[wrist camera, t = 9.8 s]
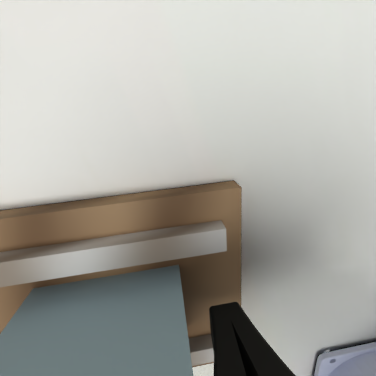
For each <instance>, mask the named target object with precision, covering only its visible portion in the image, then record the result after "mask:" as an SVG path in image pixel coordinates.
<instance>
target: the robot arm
mask: <svg viewBox="0 0 376 376" xmlns="http://www.w3.org/2000/svg"><path fill="white" fill-rule="evenodd" d="M209 315H210V330H211V338H212V344H213V351H214V376H295V375H294V374H293V372H292V371H291V370H290V369H289V368H288V367H287V366H286V364H285V363H284V362H283V361H282V360H281V359H280V357H279V356H278V355H277V354H276V353H275V352H274V350H273V349H272V348H271V347H270V345H269V344H268V343H267V342H266V340H265V339H264V338H263V337H262V335H261V334H260V333H259V332H258V330H257V329H256V328H255V326H254V325H253V324H252V322H251V321H250V319H249V318H248V317H247V315H246V314H245V312H244V311H243V309H242V308H241V306H240V305H239V303H238V302H231V303H226V304H220V305H215V306H211V307H210V308H209ZM314 376H376V342H372V343H368V344H363V345H358V346H354V347H349V348H344V349H340V350H335V351H331V352H326V353H322V354H320V355H319V356H318V359H317V363H316V368H315V373H314Z"/></svg>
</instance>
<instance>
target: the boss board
mask: <svg viewBox="0 0 376 376" xmlns="http://www.w3.org/2000/svg"><path fill="white" fill-rule="evenodd" d="M175 265H179V269H180V277H181V285H182V293H183V300H184V308H185V316H186V324H187V331H188V339H189V347H190V354H191V362H192V367H196V366H201V365H205V364H210V363H214V351H213V344H212V338H211V330H210V315H209V308H210V307H211V306H215V305H220V304H226V303H231V302H238V303H239V305H240V306H241V187H240V186H239V185H238V184H237V183H236V182H235V181H227V182H219V183H212V184H204V185H196V186H188V187H180V188H173V189H165V190H157V191H149V192H141V193H134V194H126V195H118V196H110V197H102V198H95V199H87V200H79V201H71V202H63V203H56V204H48V205H40V206H32V207H24V208H17V209H9V210H1V211H0V334H1V332H2V331H3V329H4V328H5V327H6V325H7V324H8V322H9V321H10V320H11V318H12V317H13V316H14V314H15V313H16V311H17V310H18V309H19V307H20V306H21V304H22V303H23V302H24V300H25V299H26V298H27V296H28V295H29V293H30V292H31V291H32V289H33V288H39V287H46V286H52V285H58V284H64V283H70V282H76V281H82V280H89V279H95V278H101V277H107V276H113V275H119V274H125V273H132V272H138V271H144V270H150V269H156V268H162V267H168V266H175Z"/></svg>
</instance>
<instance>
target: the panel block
mask: <svg viewBox="0 0 376 376" xmlns="http://www.w3.org/2000/svg"><path fill="white" fill-rule="evenodd" d="M0 376H193V370H192V362H191V354H190V347H189V339H188V331H187V324H186V316H185V308H184V300H183V293H182V285H181V277H180V269H179V265H175V266H168V267H162V268H156V269H150V270H144V271H138V272H132V273H125V274H119V275H113V276H107V277H101V278H95V279H89V280H82V281H76V282H70V283H64V284H58V285H52V286H46V287H39V288H33V289H32V291H31V292H30V293H29V295H28V296H27V298H26V299H25V300H24V302H23V303H22V304H21V306H20V307H19V309H18V310H17V311H16V313H15V314H14V316H13V317H12V318H11V320H10V321H9V322H8V324H7V325H6V327H5V328H4V329H3V331H2V332H1V334H0Z"/></svg>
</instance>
